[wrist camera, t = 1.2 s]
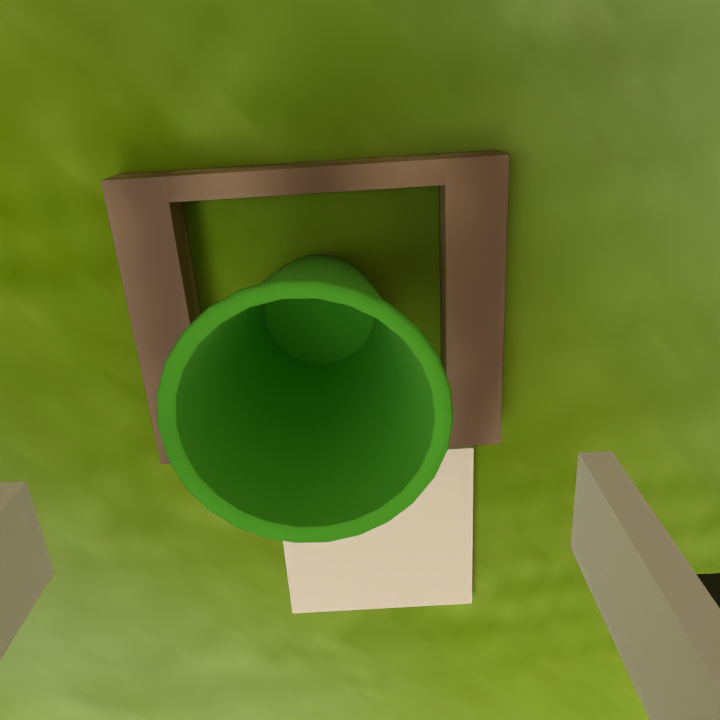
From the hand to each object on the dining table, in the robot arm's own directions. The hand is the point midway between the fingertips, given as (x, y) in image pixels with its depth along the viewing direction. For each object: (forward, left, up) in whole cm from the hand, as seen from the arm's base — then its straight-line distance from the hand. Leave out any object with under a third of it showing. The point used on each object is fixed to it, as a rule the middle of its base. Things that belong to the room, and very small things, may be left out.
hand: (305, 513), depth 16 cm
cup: (0, 0, -16) cm, 16 cm away
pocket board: (0, 0, -15) cm, 15 cm away
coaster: (+2, -12, -15) cm, 20 cm away
